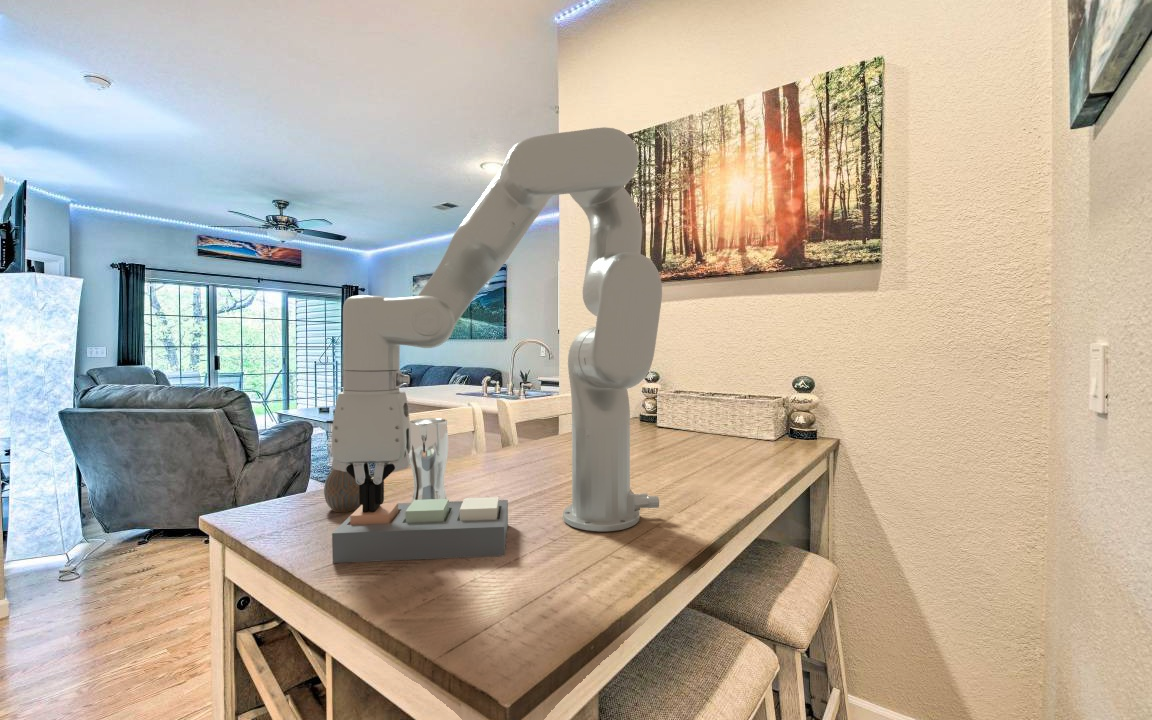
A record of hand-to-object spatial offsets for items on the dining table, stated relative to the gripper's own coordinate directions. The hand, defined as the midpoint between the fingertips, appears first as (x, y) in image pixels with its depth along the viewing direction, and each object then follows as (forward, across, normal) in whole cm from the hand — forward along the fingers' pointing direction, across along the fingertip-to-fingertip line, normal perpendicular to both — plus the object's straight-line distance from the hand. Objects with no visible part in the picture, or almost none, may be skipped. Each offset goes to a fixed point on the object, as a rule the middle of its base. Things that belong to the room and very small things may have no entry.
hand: (371, 509), depth 73 cm
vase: (+6, +10, -17) cm, 20 cm away
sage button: (+4, -8, 0) cm, 9 cm away
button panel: (+5, -8, 0) cm, 9 cm away
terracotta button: (+4, 0, 0) cm, 4 cm away
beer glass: (+5, -4, -19) cm, 20 cm away
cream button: (+3, -15, 0) cm, 16 cm away
